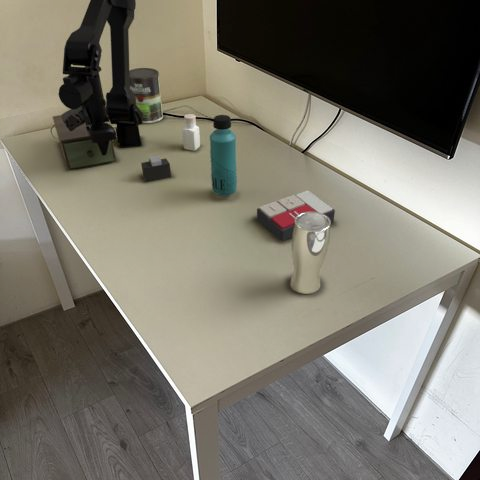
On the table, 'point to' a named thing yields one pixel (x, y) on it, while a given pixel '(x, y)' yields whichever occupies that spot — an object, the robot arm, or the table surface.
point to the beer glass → (309, 250)
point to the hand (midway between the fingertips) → (104, 154)
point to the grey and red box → (291, 213)
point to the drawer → (86, 153)
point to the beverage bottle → (223, 157)
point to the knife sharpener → (156, 169)
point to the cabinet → (72, 137)
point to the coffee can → (147, 93)
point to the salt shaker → (191, 133)
